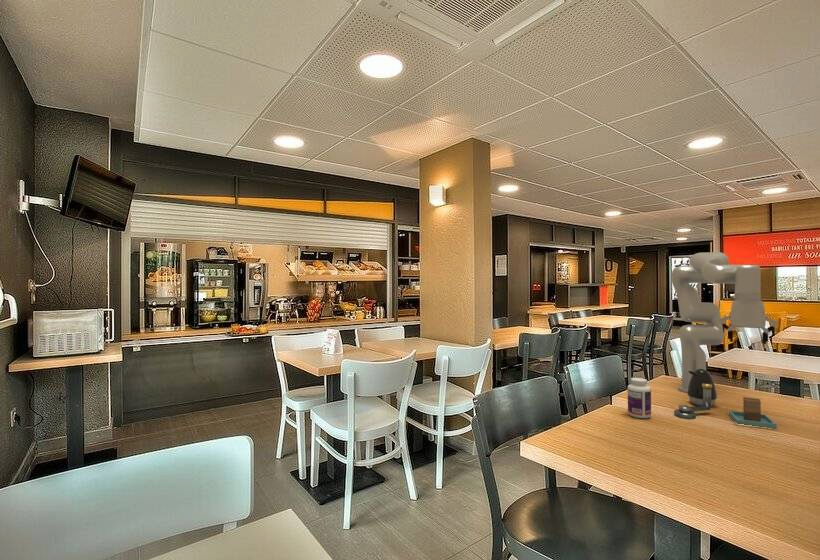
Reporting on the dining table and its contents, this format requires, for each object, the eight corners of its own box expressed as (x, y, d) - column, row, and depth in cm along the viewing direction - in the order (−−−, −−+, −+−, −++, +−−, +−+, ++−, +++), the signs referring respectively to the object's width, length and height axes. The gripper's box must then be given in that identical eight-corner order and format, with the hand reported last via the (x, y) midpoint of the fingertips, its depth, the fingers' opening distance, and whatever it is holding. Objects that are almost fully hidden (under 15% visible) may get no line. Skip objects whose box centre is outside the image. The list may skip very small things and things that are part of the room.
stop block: (760, 423, 148) (760, 401, 148) (744, 421, 151) (744, 399, 151) (759, 420, 152) (758, 398, 152) (743, 418, 155) (743, 396, 155)
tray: (728, 416, 159) (728, 410, 159) (765, 420, 154) (765, 414, 154) (737, 425, 149) (737, 419, 149) (776, 430, 144) (776, 424, 144)
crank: (685, 413, 157) (684, 387, 157) (676, 410, 161) (675, 385, 161) (715, 410, 161) (715, 385, 161) (705, 407, 165) (705, 382, 165)
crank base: (672, 412, 164) (672, 408, 164) (693, 414, 161) (693, 410, 161) (675, 417, 158) (675, 413, 158) (697, 420, 155) (697, 416, 155)
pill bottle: (645, 412, 164) (645, 377, 164) (655, 419, 156) (655, 382, 156) (624, 412, 165) (624, 376, 165) (633, 419, 157) (632, 381, 157)
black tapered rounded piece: (681, 400, 179) (681, 366, 179) (706, 401, 179) (705, 366, 179) (697, 408, 169) (696, 371, 169) (722, 408, 169) (722, 371, 169)
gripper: (719, 297, 157) (719, 341, 157) (779, 298, 147) (779, 346, 147) (718, 296, 163) (718, 339, 163) (776, 297, 153) (776, 343, 153)
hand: (747, 342), depth 155 cm, fingers open, 9 cm apart
